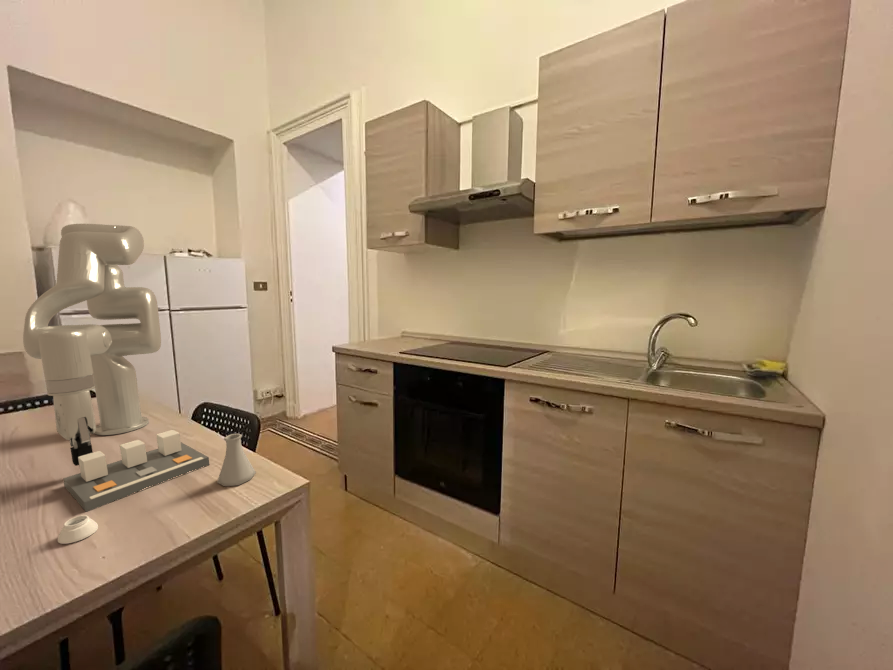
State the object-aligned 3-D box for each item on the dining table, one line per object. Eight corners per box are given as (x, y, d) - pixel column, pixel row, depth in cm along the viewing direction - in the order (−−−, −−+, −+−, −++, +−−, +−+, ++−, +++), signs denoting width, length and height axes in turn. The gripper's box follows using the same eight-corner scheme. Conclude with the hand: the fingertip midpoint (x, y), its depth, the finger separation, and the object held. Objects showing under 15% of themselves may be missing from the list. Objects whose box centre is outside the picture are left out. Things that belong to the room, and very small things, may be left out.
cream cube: (158, 451, 92) (156, 434, 91) (174, 446, 95) (172, 429, 94) (165, 455, 90) (162, 438, 89) (181, 450, 92) (179, 433, 92)
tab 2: (122, 463, 86) (119, 444, 85) (140, 457, 89) (138, 439, 88) (128, 467, 84) (125, 449, 83) (147, 461, 87) (144, 443, 86)
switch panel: (64, 486, 81) (63, 477, 80) (180, 448, 99) (179, 440, 98) (85, 511, 72) (84, 501, 71) (209, 464, 90) (208, 456, 89)
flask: (239, 489, 79) (234, 444, 78) (210, 485, 81) (205, 442, 79) (262, 472, 86) (258, 431, 85) (235, 469, 88) (231, 428, 86)
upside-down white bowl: (67, 531, 66) (51, 549, 62) (65, 515, 66) (48, 533, 61) (103, 523, 68) (90, 540, 64) (101, 508, 68) (88, 525, 63)
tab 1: (81, 476, 80) (77, 456, 80) (102, 469, 83) (99, 450, 83) (86, 481, 78) (83, 461, 77) (108, 474, 81) (105, 455, 80)
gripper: (39, 383, 83) (52, 460, 86) (55, 394, 75) (69, 479, 78) (84, 376, 90) (95, 448, 92) (103, 385, 81) (115, 464, 84)
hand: (83, 462), depth 85 cm, fingers closed
